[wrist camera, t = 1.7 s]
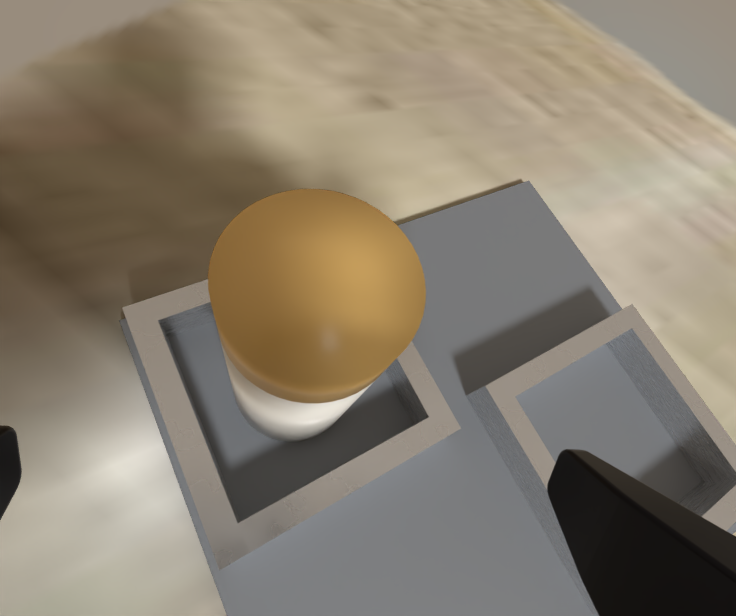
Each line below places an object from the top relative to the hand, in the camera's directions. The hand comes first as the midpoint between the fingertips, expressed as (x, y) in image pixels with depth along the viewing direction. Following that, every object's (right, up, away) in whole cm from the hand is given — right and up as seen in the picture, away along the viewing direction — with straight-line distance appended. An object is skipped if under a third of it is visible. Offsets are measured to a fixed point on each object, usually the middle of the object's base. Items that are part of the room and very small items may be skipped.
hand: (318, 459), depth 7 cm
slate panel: (+5, -3, +13) cm, 14 cm away
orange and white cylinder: (-2, -1, +12) cm, 12 cm away
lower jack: (+12, -4, +14) cm, 19 cm away
